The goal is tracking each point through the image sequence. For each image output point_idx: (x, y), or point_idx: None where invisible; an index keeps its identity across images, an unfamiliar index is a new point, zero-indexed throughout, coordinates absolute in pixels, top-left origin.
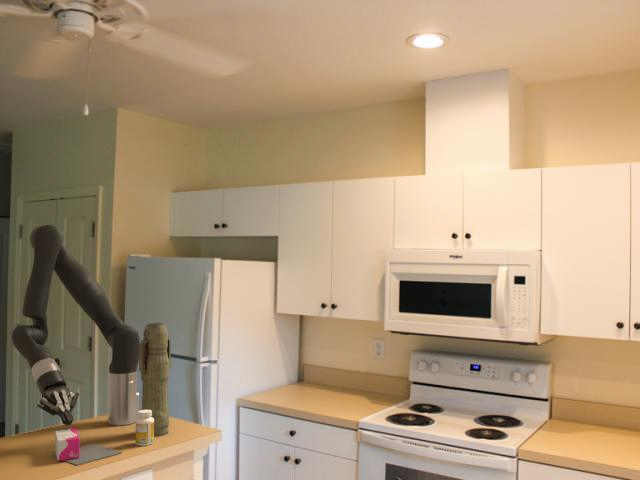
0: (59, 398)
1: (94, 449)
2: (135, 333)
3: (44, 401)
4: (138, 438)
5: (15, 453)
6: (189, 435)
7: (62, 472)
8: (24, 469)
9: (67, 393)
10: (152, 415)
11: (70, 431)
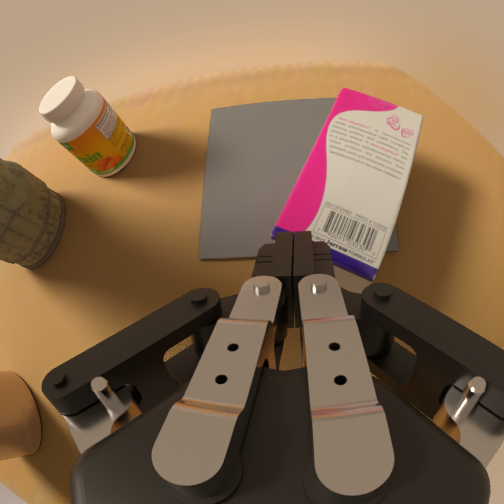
0: (318, 370)
1: (246, 187)
2: None
3: (501, 366)
4: (127, 131)
5: None
6: (37, 153)
7: (414, 89)
8: (490, 182)
9: (137, 437)
10: (20, 169)
11: (327, 191)
